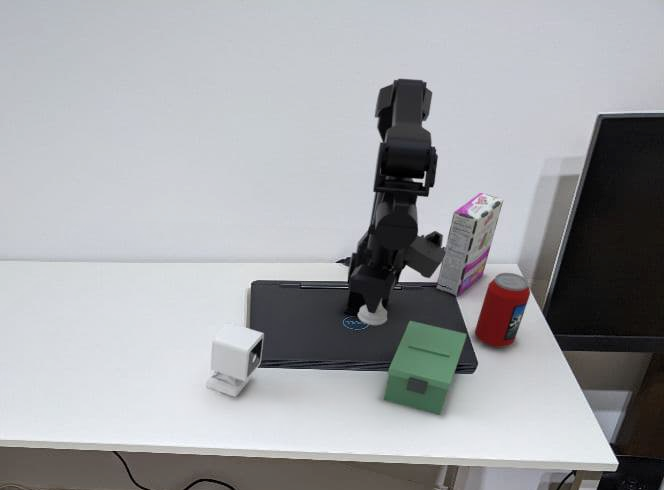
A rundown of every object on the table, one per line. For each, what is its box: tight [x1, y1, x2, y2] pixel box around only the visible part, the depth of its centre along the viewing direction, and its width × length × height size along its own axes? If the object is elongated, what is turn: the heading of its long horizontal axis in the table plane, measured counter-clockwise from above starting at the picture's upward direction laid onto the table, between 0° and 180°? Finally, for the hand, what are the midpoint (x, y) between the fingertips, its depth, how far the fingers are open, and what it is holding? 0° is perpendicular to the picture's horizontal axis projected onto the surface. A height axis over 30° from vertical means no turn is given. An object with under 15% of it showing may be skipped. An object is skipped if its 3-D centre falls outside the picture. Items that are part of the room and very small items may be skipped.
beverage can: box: [474, 272, 531, 348], centre depth 148 cm, size 7×7×12 cm
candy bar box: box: [435, 192, 504, 297], centre depth 162 cm, size 11×5×16 cm, turn 137°
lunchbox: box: [383, 320, 468, 416], centre depth 140 cm, size 9×16×7 cm, turn 153°
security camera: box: [205, 322, 265, 397], centre depth 138 cm, size 6×7×10 cm
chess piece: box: [357, 299, 388, 326], centre depth 136 cm, size 5×5×8 cm
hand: (374, 307), depth 138 cm, fingers closed on chess piece, 3 cm apart
